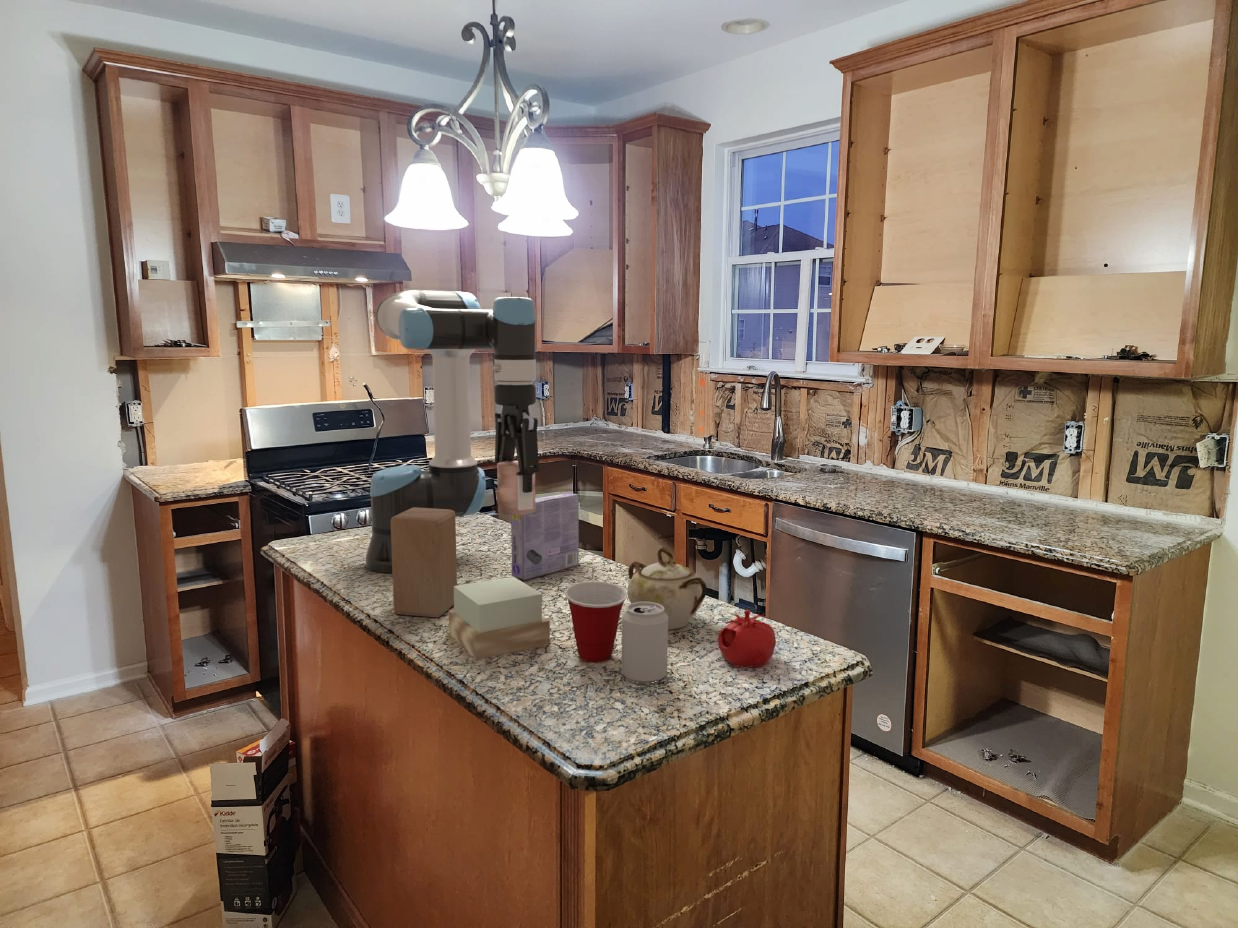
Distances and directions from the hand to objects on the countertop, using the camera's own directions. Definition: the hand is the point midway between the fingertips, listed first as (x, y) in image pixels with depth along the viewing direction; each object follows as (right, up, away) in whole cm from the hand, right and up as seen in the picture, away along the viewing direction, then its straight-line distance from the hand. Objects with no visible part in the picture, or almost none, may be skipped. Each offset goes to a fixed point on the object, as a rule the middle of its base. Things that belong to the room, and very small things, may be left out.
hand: (516, 505), depth 152 cm
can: (+23, -27, -19) cm, 41 cm away
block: (-20, -22, +12) cm, 32 cm away
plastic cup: (+15, -26, -11) cm, 32 cm away
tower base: (-3, -25, -4) cm, 25 cm away
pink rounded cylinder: (0, -1, 0) cm, 1 cm away
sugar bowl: (+28, -23, +6) cm, 37 cm away
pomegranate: (+41, -27, -12) cm, 50 cm away
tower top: (-3, -20, -5) cm, 21 cm away
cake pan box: (+2, -18, +39) cm, 42 cm away
